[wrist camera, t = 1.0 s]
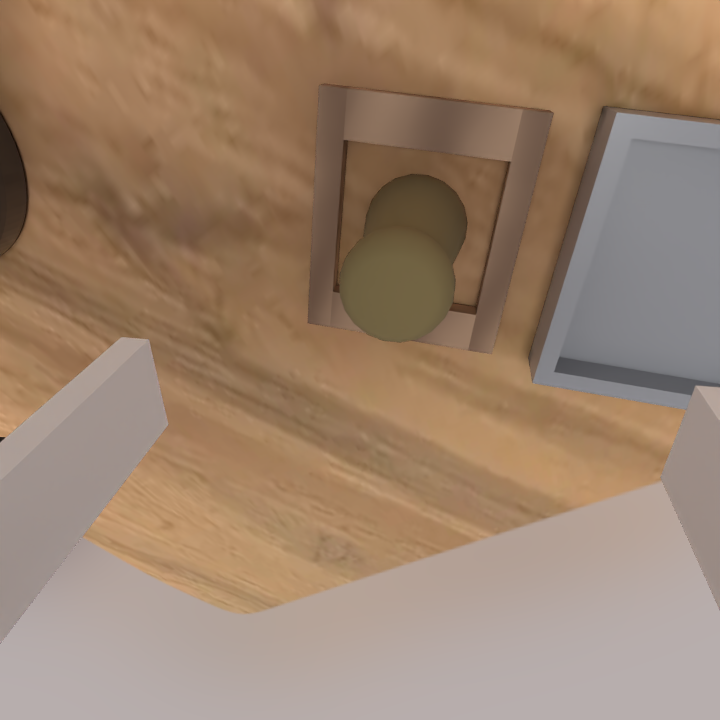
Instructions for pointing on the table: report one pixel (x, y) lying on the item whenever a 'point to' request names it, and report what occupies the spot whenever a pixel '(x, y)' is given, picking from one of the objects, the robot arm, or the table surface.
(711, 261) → the tray
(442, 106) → the socket block
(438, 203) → the olive bulb peg
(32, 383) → the table surface
